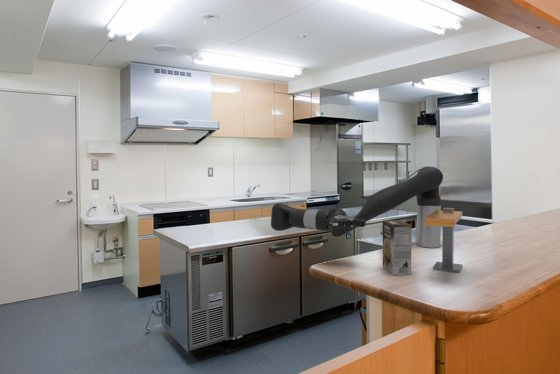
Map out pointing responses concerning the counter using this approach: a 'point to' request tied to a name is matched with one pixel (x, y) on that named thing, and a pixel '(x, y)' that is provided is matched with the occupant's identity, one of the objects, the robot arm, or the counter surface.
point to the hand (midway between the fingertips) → (364, 223)
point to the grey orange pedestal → (446, 237)
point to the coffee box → (397, 247)
